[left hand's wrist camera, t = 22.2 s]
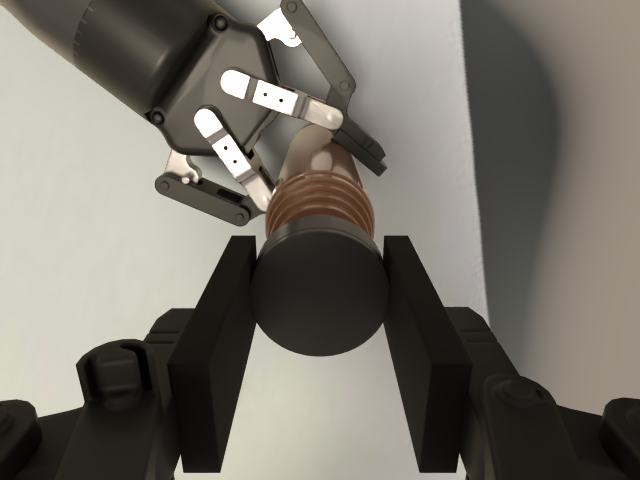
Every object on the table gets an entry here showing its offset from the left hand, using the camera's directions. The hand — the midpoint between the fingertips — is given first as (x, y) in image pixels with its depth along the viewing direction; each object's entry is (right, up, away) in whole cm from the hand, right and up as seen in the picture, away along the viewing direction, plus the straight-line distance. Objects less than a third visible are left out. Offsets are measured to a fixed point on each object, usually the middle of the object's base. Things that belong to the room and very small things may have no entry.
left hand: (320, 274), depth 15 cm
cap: (0, 0, -1) cm, 1 cm away
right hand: (+2, +4, +14) cm, 14 cm away
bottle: (0, +8, +19) cm, 20 cm away
